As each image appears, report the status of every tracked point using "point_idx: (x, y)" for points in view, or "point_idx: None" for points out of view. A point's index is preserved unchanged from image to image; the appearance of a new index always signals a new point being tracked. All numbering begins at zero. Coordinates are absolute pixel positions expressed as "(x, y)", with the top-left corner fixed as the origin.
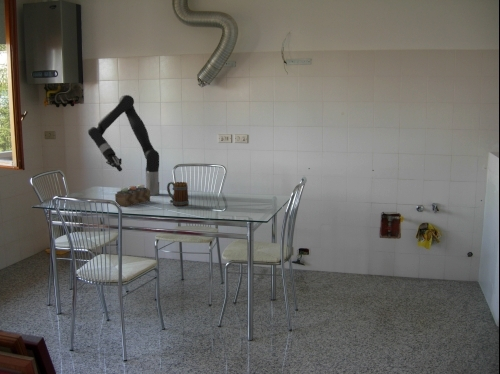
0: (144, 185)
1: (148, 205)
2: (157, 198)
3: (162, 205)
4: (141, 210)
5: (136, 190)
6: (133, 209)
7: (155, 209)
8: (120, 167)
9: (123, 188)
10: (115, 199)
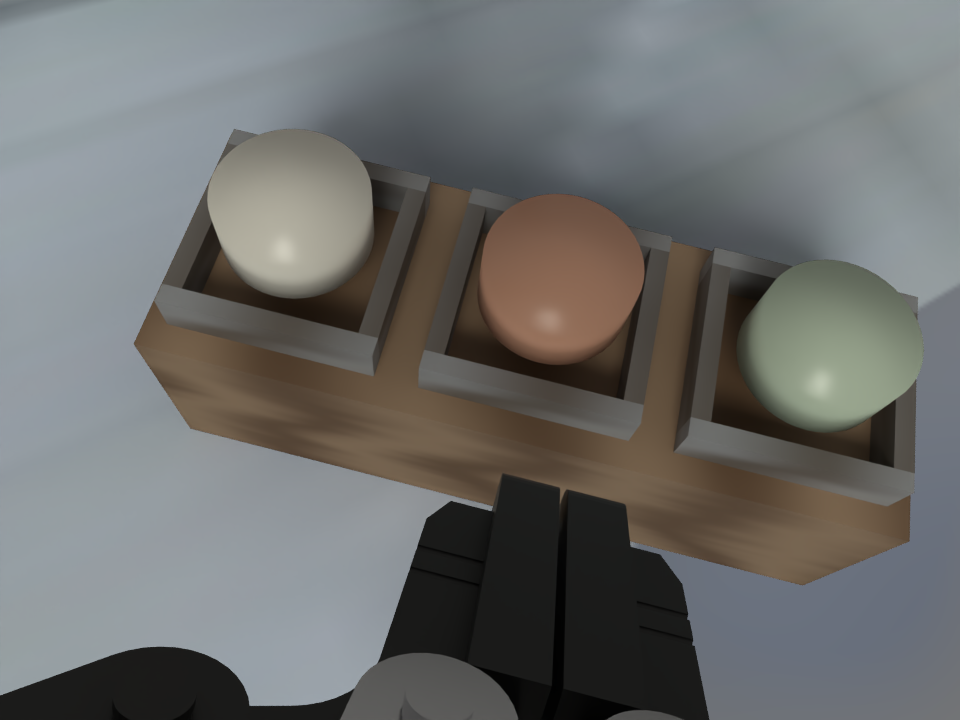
0: (281, 133)
1: (577, 149)
2: (7, 233)
3: (502, 12)
4: (882, 110)
5: None
6: (891, 212)
7: (749, 5)
8: (539, 550)
9: (879, 330)
10: (852, 562)
